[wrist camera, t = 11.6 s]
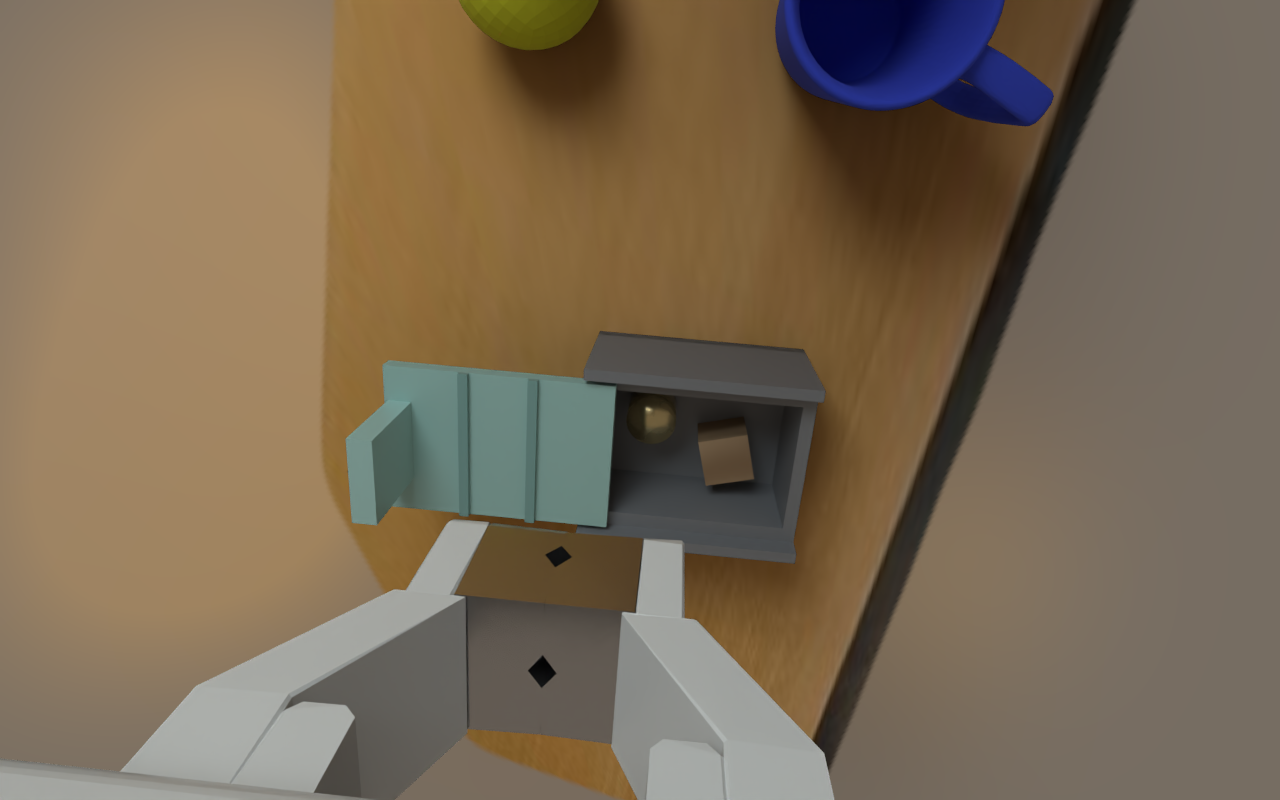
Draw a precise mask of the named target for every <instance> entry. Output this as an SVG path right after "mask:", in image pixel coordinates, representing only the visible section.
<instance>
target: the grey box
mask: <svg viewBox="0 0 1280 800" xmlns="http://www.w3.org/2000/svg"><path fill="white" fill-rule="evenodd" d="M584 380H585V381H596V382H606V383H617V394H616V408H615V423H614V437H613V452H612V466H611V481H610V495H609V510H608V521H607V526H606V527H599V526H589V525H578V526H577V530H576V533H579V534H593V535H607V536H621V537H635V538H643V544H644V538H647V539H665V540H682V541H683V543H684V553H692V554H702V555H712V556H722V557H732V558H742V559H753V560H763V561H773V562H783V563H793V564H795V559H796V551H795V547H794V543H793V541H794V536H795V530H796V524H797V519H798V513H799V507H800V502H801V496H802V490H803V485H804V479H805V473H806V468H807V462H808V456H809V451H810V445H811V439H812V434H813V428H814V422H815V417H816V411H817V405H818V402H823V403H824V398H825V392H826V391H825V389H824V387H823V385H822V383H821V382H820V380H819V378H818V376H817V374H816V372H815V370H814V368H813V367H812V365H811V363H810V361H809V359H808V357H807V355H806V353H805V352H804V350H803V349H793V348H781V347H770V346H759V345H748V344H737V343H726V342H715V341H704V340H693V339H682V338H671V337H660V336H648V335H637V334H626V333H615V332H604V331H600V333H599V335H598V338H597V340H596V342H595V345H594V347H593V349H592V352H591V354H590V356H589V359H588V361H587V363H586V366H585V368H584ZM633 392H642V393H653V394H663V395H674V396H675V398H676V425H675V429H674V431H673V433H672V434H671V436H670V437H669V438H668V439H666V440H665V441H663V442H660V443H657V444H646V443H643V442H640V441H638V440H637V439H635V438H634V437H633V436H632V435H631V433H630V432H629V430H628V427H627V423H626V418H627V413H628V408H629V403H630V398H631V395H632V393H633ZM738 417H744V420H745V425H746V430H747V435H748V442H749V449H750V456H751V463H752V469H753V476H754V479H751V480H744V481H737V482H730V483H723V484H715V485H708V486H706V484H705V478H704V473H703V467H702V461H701V455H700V450H699V444H698V423H704V422H711V421H717V420H724V419H731V418H738ZM642 549H643V546H642Z"/></svg>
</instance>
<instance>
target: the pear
mask: <svg viewBox="0 0 1280 800" xmlns="http://www.w3.org/2000/svg"><path fill="white" fill-rule="evenodd" d="M598 1H599V0H459V2H460V4H461V6H462V8H463V9H464V11H465V12H466V13H467V15H468V16H469V17H470V19H471V20H472V21H473V22H474V23H475V24H476V25H477V26H478V27H479V28H480V29H481V30H482V31H483V32H484V33H485V34H487V35H488V36H490V37H491V38H493V39H494V40H496V41H498V42H500V43H502V44H505V45H507V46H509V47H513V48H517V49H522V50H543V49H547V48H551V47H555V46H558V45H560V44H562V43H564V42H566V41H568V40H569V39H571V38H572V37H573V36H574V35H575V34H577V33H578V32H579V31H580V30H581V29H582V28H583V26H584V25H585V24H586V23H587V21H588V20H589V19H590V17H591V16H592V14H593V12H594V10H595V8H596V6H597V4H598Z"/></svg>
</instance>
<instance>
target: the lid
mask: <svg viewBox="0 0 1280 800" xmlns="http://www.w3.org/2000/svg"><path fill="white" fill-rule="evenodd" d="M383 382H384V400H385V403H384V404H383V405H382V406H381V407H380V408H379V409H378V410H377V411H376V412H375V413H373V414H372V415H371V416H370V417H369V418H368V419H367V420H366V421H365V422H363V423H362V424H361V425H360V426H359V427H358V428H357V429H356V430H355V431H354V432H352V433H351V434H350V435H349V436H348V437H347V438H346V449H347V462H348V475H349V488H350V502H351V515H352V523H360V524H370V525H377V524H378V523H379V522H380V521H381V519H382V518H383V517H384V515H385V514H386V513H387V512H388V510H389V509H390V508H391V506H395V507H405V508H416V509H426V510H436V511H446V512H456V513H459V516H469V515H470V514H477V515H487V516H497V517H507V518H517V519H525V522H528V523H534V521H535V520H538V521H548V522H558V523H568V524H578V525H589V526H599V527H606V526H607V521H608V510H609V495H610V481H611V466H612V452H613V437H614V423H615V408H616V394H617V383H606V382H596V381H585V380H584V378H574V377H564V376H553V375H542V374H531V373H520V372H509V371H499V370H488V369H477V368H466V367H455V366H444V365H433V364H423V363H412V362H401V361H390V360H388V361H387V362H386V363H385V364H383Z"/></svg>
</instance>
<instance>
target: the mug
mask: <svg viewBox="0 0 1280 800" xmlns="http://www.w3.org/2000/svg"><path fill="white" fill-rule="evenodd" d="M1004 1H1005V0H780V1H779V6H778V10H777V16H776V27H775V30H776V43H777V48H778V52H779V55H780V58H781V60H782V63H783V65H784V67H785V69H786V70H787V72H788V73H789V75H790V76H791V77H792V79H793V80H794V81H795V82H796V83H797V84H798V85H799V86H800V87H802V88H803V89H804V90H806V91H807V92H809V93H811V94H813V95H815V96H817V97H819V98H822V99H826V100H829V101H833V102H837V103H841V104H845V105H848V106H852V107H856V108H860V109H865V110H875V111H886V110H896V109H902V108H906V107H910V106H913V105H916V104H919V103H922V102H924V101H926V100H928V99H932V100H933V101H935V102H936V103H938V104H940V105H941V106H943V107H945V108H947V109H949V110H951V111H953V112H955V113H957V114H960V115H963V116H966V117H969V118H973V119H977V120H982V121H987V122H992V123H1000V124H1009V125H1018V126H1030V125H1032V124H1034V123H1036V122H1037V121H1038V120H1039V119H1040V118H1041V117H1042V116H1043V115H1044V113H1045V112H1046V111H1047V109H1048V108H1049V106H1050V105H1051V103H1052V100H1053V97H1054V96H1053V93H1052V91H1051V90H1050V89H1049V88H1048V87H1047V86H1046V85H1044V84H1043V83H1042V82H1041V81H1039V80H1038V79H1037V78H1036V77H1035V76H1033V75H1032V74H1031V73H1029V72H1028V71H1027V70H1025V69H1024V68H1023V67H1021V66H1020V65H1019V64H1017V63H1016V62H1014V61H1013V60H1011V59H1010V58H1008V57H1007V56H1005V55H1004V54H1002V53H1000V52H999V51H997V50H995V49H993V48H992V47H990V46H988V45H987V44H988V42H989V40H990V39H991V37H992V35H993V33H994V31H995V28H996V26H997V24H998V21H999V18H1000V16H1001V13H1002V9H1003V5H1004ZM958 79H962V80H965V81H967V82H969V83H970V84H972V85H973V86H971V85H968V84H966V83H964V82H962V81H960V80H958ZM974 86H975V87H974Z"/></svg>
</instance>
